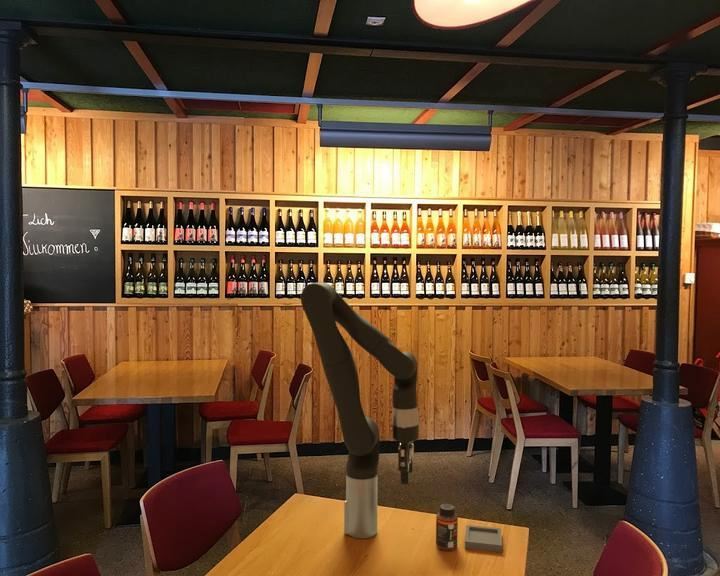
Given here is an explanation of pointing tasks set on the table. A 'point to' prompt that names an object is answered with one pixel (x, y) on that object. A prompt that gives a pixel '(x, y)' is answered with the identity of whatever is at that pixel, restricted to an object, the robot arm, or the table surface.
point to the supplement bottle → (446, 528)
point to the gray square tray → (483, 538)
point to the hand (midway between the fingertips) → (406, 477)
